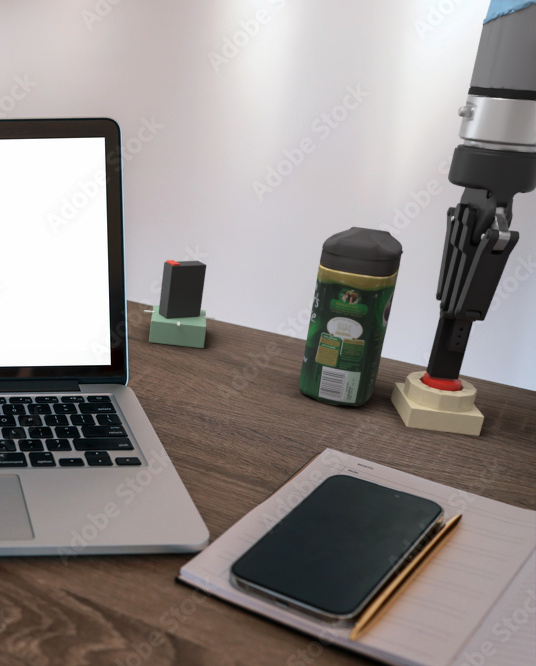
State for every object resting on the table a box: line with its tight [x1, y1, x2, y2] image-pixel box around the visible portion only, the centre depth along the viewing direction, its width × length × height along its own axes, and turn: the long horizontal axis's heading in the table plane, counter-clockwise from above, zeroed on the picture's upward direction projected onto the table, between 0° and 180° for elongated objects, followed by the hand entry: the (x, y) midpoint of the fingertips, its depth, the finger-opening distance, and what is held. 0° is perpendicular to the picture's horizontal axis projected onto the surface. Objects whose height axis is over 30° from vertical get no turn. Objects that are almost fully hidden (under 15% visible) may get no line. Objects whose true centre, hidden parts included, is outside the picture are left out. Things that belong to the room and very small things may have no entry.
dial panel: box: [143, 304, 216, 349], centre depth 102 cm, size 9×9×3 cm
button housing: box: [390, 370, 485, 437], centre depth 82 cm, size 7×7×4 cm
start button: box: [422, 372, 462, 392], centre depth 82 cm, size 4×4×2 cm
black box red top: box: [158, 259, 207, 318], centre depth 101 cm, size 5×2×7 cm, turn 109°
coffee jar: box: [298, 226, 404, 407], centre depth 85 cm, size 10×8×19 cm
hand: (441, 375), depth 81 cm, fingers closed
